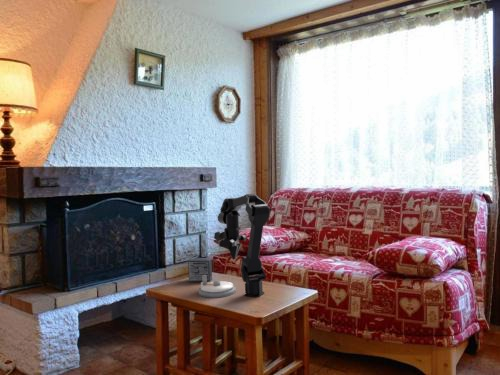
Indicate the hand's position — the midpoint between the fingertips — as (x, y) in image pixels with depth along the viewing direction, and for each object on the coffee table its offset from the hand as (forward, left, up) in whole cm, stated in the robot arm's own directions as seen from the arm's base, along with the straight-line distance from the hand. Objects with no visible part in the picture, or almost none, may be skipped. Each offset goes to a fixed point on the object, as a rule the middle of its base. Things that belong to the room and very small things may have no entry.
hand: (233, 259), depth 195 cm
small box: (+20, -2, -12) cm, 23 cm away
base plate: (+2, +13, -12) cm, 18 cm away
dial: (+2, +13, -10) cm, 16 cm away
